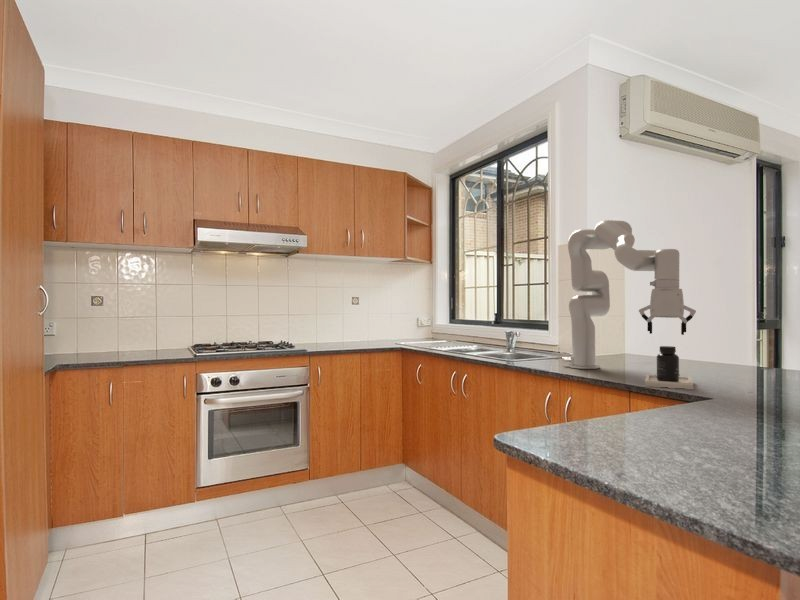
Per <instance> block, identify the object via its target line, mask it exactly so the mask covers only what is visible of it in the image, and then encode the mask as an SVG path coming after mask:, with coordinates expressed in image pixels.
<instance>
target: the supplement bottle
mask: <svg viewBox="0 0 800 600" xmlns="http://www.w3.org/2000/svg"><path fill="white" fill-rule="evenodd" d="M676 351H677V350H676V346H673V345H672V346H669V345H660V346H659V353H658V354H657V355H656V375H657V380H658V381H667V382H678V381H679V376H680V356H679V355H678V354H676V353H677V352H676Z"/></svg>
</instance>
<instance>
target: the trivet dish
mask: <svg viewBox="0 0 800 600" xmlns="http://www.w3.org/2000/svg"><path fill="white" fill-rule="evenodd" d="M645 386H647V387H649V388H660V387H668V388H667V389H675V388H686V389H685V390H690V389H693V390H694V381H693V379H692V376H680V375H679V381H678V382H667V381H658V380H657V374H646V375H645V380H644V387H645Z"/></svg>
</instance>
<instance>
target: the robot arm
mask: <svg viewBox="0 0 800 600" xmlns="http://www.w3.org/2000/svg"><path fill="white" fill-rule="evenodd" d="M567 241H568V242H567V248H568V249H567V251H568V254H569V259H570V275H571V276H570V278H571V288H572V290H573V291H575V292H578V293H591V294H579V295H576V296H573V297H572V298H570V300H569V301H568V302H569V303H568V309H569V315H570V322H571V353H572V355H571V356H569V357H564V356H562V358H561V361H562V362H564V363H569V364H568V368H570V369H571V368H572V369H576V370H577V369H578V370H579V369H580V370H596V369H599V368H601V367H600V364H598V363H596V327H595V323H594V321H593V319H592V317H603V316H606V315H607V314H608V313H609V312H610V306H611V298H610V281H609V278H608V275H607V273H606V272H604V271H603V270H595V269H594V270H593V268H592V259H591V257H590V255H589V253H588V252H587V250H608V249H612V250H613V251H614V255H615V256H614V257H615V259H616V260H617V262H618V263H619V264H621V265H622V266H623V267H625V268H626V269H628V270H631V271H633V272H654V280H653V281H650V282H649V286H652V287H654V288H652V289H651V293H650V301H649V303H650V304H649V305H646V306H644V307H641V308H640V309H639V310H638V312H639V314H640V317H641V318H642V319H644V320H645V321H646V323H647V332H649V334H650V335H651V334H653V322H652V320H654V318H668V319H669V318H672V319H675V318H679V320H681V323H680V328H681V329H680V331H681V332H680V333H681V335H682V336H684V335H685V333H687V323H688V322H690V321H691V320H692V319H693V318H694V316H695V314H696V313H697V310H696V309H693V308H692V307H689V306H687V305H685V304H684V293H683V289H682V288H680V251H679V250H678V249H676V248H675V249H674V248H662V249H657V250H649V249H636V248H634V244H635V242H636V241H635V236H634V235H633V228H632V225H631V224H630V223H629V222H627V221H625V220H612V219H611V220H609V219H607V220H602V221H600V222H598V223H597V224H596V225H595V228H593V229H591V228H587V229H585V228H583V229H582V228H581V229H578V230H574V231H573V232H572V233H571V235H570V236H569V238H568V240H567ZM648 310H649V314H650V316H647V314H645V311H648ZM685 311H687V312H689V314H688V316H686V317H685V316H684V315H685V314H684V313H685Z"/></svg>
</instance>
